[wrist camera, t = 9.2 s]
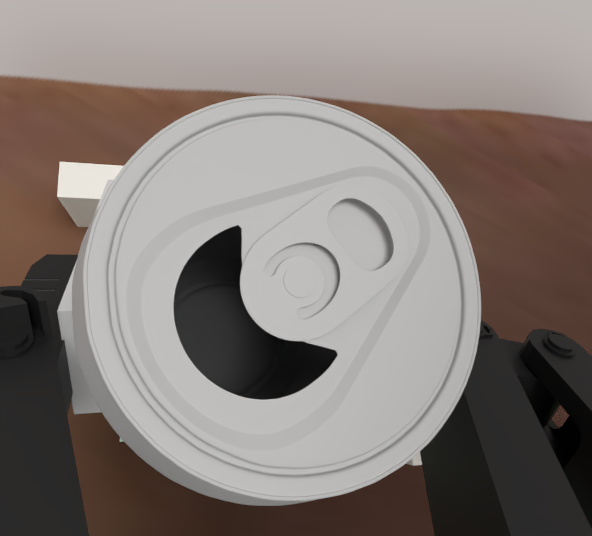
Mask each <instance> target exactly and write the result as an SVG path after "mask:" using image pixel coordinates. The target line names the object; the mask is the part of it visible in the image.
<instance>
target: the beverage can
mask: <svg viewBox="0 0 592 536" xmlns="http://www.w3.org/2000/svg"><path fill="white" fill-rule="evenodd" d="M72 313H73V329H74V340H75V348H76V352H77V356H78V360H79V363H80V366H81V369H82V372H83V375H84V377H85V380H86V382H87V385H88V387H89V390H90V392H91V394H92V396H93V398H94V400H95V402H96V403H97V405H98V407H99V408H100V410H101V412H102V413H103V415H104V417H105V418H106V420H107V421H108V422H109V424H110V425H111V427H112V428H113V429H114V430H115V432H116V433H117V434H118V435H119V436H120V437H121V439H122V440H123V441H124V442H125V443H126V444H127V445H128V446H129V447H130V448H131V449H132V450H133V451H134V452H135V453H136V454H137V455H138V456H139V457H140V458H141V459H143V460H144V461H145V462H146V463H147V464H149V465H150V466H152V467H153V468H154V469H156V470H157V471H158V472H160V473H161V474H163V475H164V476H166V477H167V478H169V479H170V480H172V481H174V482H176V483H178V484H180V485H182V486H184V487H187V488H189V489H191V490H193V491H195V492H198V493H200V494H203V495H206V496H209V497H212V498H216V499H220V500H224V501H228V502H233V503H238V504H244V505H256V506H282V505H290V504H297V503H303V502H308V501H313V500H317V499H323V498H328V497H333V496H338V495H342V494H346V493H349V492H352V491H355V490H357V489H360V488H363V487H365V486H368V485H370V484H373V483H375V482H377V481H379V480H381V479H382V478H384V477H386V476H387V475H389V474H391V473H392V472H394V471H395V470H397V469H399V468H400V467H402V466H403V465H405V464H406V463H407V462H409V461H410V460H411V459H412V458H413V457H414V456H415V455H417V454H418V453H419V452H420V451H421V450H422V449H423V448H424V447H425V446H426V445H427V444H428V443H429V442H430V441H431V440H432V439H433V438H434V437H435V435H436V434H437V433H438V432H439V430H440V429H441V428H442V426H443V425H444V423H445V422H446V420H447V419H448V418H449V416H450V415H451V413H452V412H453V410H454V408H455V406H456V404H457V403H458V401H459V399H460V397H461V395H462V393H463V390H464V388H465V386H466V384H467V381H468V378H469V376H470V373H471V370H472V367H473V363H474V359H475V356H476V352H477V346H478V341H479V334H480V324H481V294H480V284H479V276H478V270H477V265H476V261H475V257H474V253H473V250H472V246H471V243H470V240H469V237H468V234H467V231H466V229H465V226H464V224H463V222H462V220H461V218H460V216H459V214H458V212H457V209H456V208H455V206H454V204H453V202H452V200H451V199H450V197H449V196H448V194H447V193H446V191H445V190H444V188H443V187H442V185H441V184H440V182H439V181H438V179H437V178H436V177H435V175H434V174H433V173H432V172H431V171H430V170H429V169H428V167H427V166H426V165H425V164H424V163H423V162H422V161H421V160H420V159H419V158H418V157H417V156H416V155H415V154H414V153H413V152H412V151H411V150H410V149H409V148H408V147H406V146H405V145H404V144H403V143H402V142H400V141H399V140H398V139H397V138H395V137H394V136H393V135H391V134H390V133H389V132H387V131H385V130H384V129H382V128H381V127H379V126H377V125H376V124H374V123H372V122H370V121H369V120H367V119H365V118H363V117H361V116H359V115H357V114H355V113H352V112H350V111H348V110H345V109H342V108H340V107H337V106H334V105H331V104H327V103H324V102H320V101H316V100H311V99H306V98H299V97H292V96H277V95H272V96H252V97H243V98H238V99H233V100H228V101H224V102H220V103H217V104H213V105H210V106H208V107H205V108H202V109H200V110H197V111H195V112H193V113H190V114H188V115H186V116H184V117H182V118H180V119H178V120H177V121H175V122H173V123H172V124H170V125H169V126H167V127H166V128H164V129H163V130H161V131H160V132H158V133H157V134H156V135H155V136H153V137H152V138H151V139H150V140H149V141H148V142H146V143H145V144H144V145H143V146H142V147H141V148H140V149H139V150H138V151H137V152H136V153H135V154H134V155H133V156H132V157H131V158H130V159H129V161H128V162H127V163H126V164H125V165H124V167H123V168H122V169H121V171H120V172H119V174H118V175H117V176H116V178H115V179H114V181H113V182H112V184H111V185H110V187H109V188H108V190H107V192H106V194H105V196H104V198H103V200H102V202H101V204H100V206H99V208H98V209H97V211H96V212H95V214H94V216H93V218H92V220H91V223H90V225H89V227H88V229H87V231H86V234H85V236H84V238H83V241H82V243H81V247H80V250H79V254H78V258H77V262H76V266H75V271H74V276H73V283H72Z"/></svg>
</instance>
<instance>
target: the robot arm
mask: <svg viewBox="0 0 592 536" xmlns="http://www.w3.org/2000/svg"><path fill="white" fill-rule="evenodd" d="M113 181H114V180H107V183H106V186H105V188H104V191H103V193H102V196H101V199H100V201H99V204H98V206H97V209H98V208H99V206H100V204H101V202H102V200H103V198H104V196H105V194H106V192H107V190H108V188H109V187H110V185H111V184H112V182H113ZM97 209H96V211H97ZM96 211H95V212H96ZM77 258H78V255H49V254H47V255H46V256H44V257H43V258H41V259H40V260H39V261H37V262H36V263H34V264H33V265H32V266H31V268H30V269H29V271H28V273H27V275H26V277H25V281H23V282H22V284H21V286H7V287H0V536H89V534H88V528H87V523H86V517H85V512H84V506H83V501H82V495H81V490H80V484H79V479H78V474H77V468H76V463H75V457H74V452H73V446H72V441H71V435H70V430H69V424H68V419H67V413H68V409H69V406H70V402H71V399H72V405H73V411H74V414H83V413H97V412H101V410H100V408H99V407H98V405H97V403H96V402H95V400H94V398H93V396H92V394H91V392H90V390H89V387H88V385H87V382H86V380H85V377H84V375H83V372H82V369H81V366H80V363H79V360H78V356H77V352H76V348H75V340H74V329H73V313H72V283H73V276H74V271H75V266H76V262H77ZM560 405H561V406H562V407H563V408H564V409H565V411H566V412H567V413H568V414H569V415H570V416H569V417H568V419H567V420H566V421H565V423H564V424H563V426H562V427H561V428H559V427H558V426H557V425H555V424H554V422H553V421H552V420H551V418H552V417H553V415H554V414H555V412H556V411H557V409H558V408H559V406H560ZM420 455H421V461H422V466H423V472H424V478H425V483H426V489H427V494H428V500H429V506H430V511H431V517H432V522H433V528H434V534H435V536H592V357H591V356H590V355H589V354H588V353H587V352H586V351H585V350H584V349H583V348H582V347H581V346H580V345H578V344H577V343H576V342H575V341H573V340H572V339H570V338H568V337H566V336H565V335H564V334H561V333H559V332H558V333H557V332H556V331H552V330H545V329H537V330H533V331H532V332H531V333H529V335H528V337H527V339H526V341H525V342H524V343H519V342H514V341H509V340H504V339H499V338H498V336H497V334H496V333H495V332H494V330H493V329H492V328H491V327H490V326H489V325H487V324H486V323H485V322H483V321H481V324H480V334H479V341H478V346H477V352H476V356H475V359H474V363H473V367H472V370H471V373H470V376H469V378H468V381H467V384H466V386H465V388H464V390H463V393H462V395H461V397H460V399H459V401H458V403H457V404H456V406H455V408H454V410H453V412H452V413H451V415H450V416H449V418H448V419H447V420H446V422H445V423H444V425H443V426H442V428H441V429H440V430H439V432H438V433H437V434H436V435H435V437H434V438H433V439H432V440H431V441H430V442H429V443H428V444H427V445H426V446H425V447H424V448H423V449H422V450H421V451H420Z"/></svg>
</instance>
